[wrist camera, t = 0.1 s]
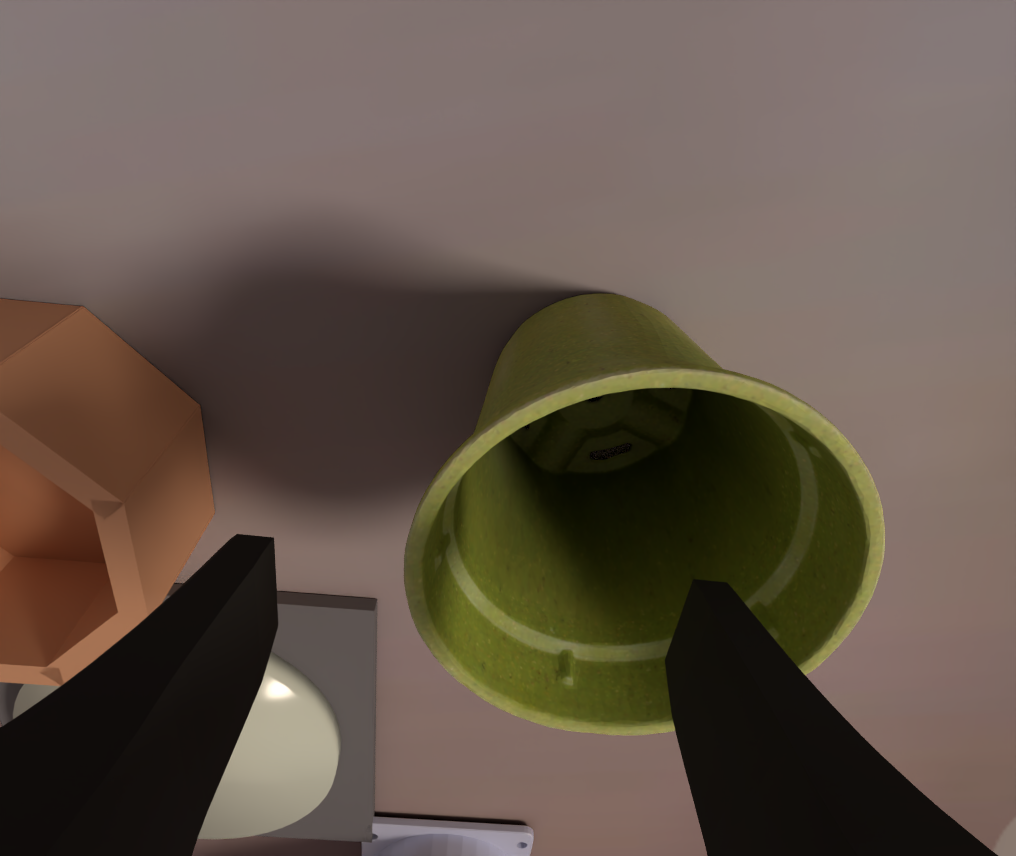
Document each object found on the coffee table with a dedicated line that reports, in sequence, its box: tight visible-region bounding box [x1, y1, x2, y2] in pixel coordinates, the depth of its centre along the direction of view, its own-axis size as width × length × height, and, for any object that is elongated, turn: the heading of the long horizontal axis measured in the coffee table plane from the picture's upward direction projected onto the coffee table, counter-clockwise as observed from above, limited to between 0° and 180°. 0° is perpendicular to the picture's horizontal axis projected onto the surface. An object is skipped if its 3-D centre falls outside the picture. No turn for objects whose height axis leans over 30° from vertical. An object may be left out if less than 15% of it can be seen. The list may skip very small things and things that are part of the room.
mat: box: [0, 584, 377, 843], centre depth 29 cm, size 15×15×1 cm
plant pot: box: [404, 294, 885, 735], centre depth 18 cm, size 9×9×9 cm
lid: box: [13, 652, 341, 839], centre depth 27 cm, size 12×12×4 cm
